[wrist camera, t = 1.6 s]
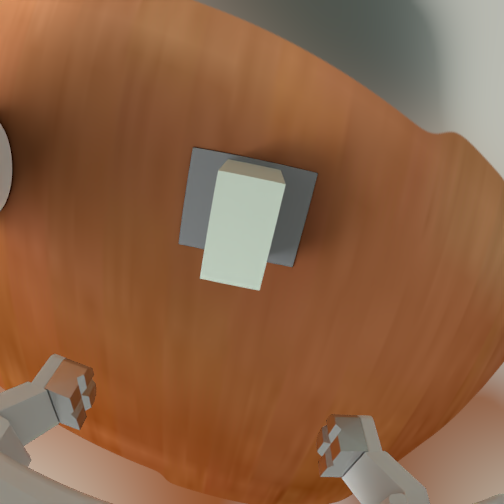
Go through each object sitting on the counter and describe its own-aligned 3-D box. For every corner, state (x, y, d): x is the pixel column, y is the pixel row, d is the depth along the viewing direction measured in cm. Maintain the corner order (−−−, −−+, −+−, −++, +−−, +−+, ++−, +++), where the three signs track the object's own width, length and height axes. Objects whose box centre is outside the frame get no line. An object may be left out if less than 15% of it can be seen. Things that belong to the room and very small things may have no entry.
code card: (179, 243, 33) (178, 243, 33) (193, 147, 29) (193, 147, 29) (292, 266, 34) (292, 267, 33) (317, 173, 30) (317, 173, 30)
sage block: (212, 246, 33) (199, 278, 26) (228, 159, 29) (218, 170, 23) (260, 256, 33) (259, 290, 27) (280, 170, 30) (285, 184, 23)
